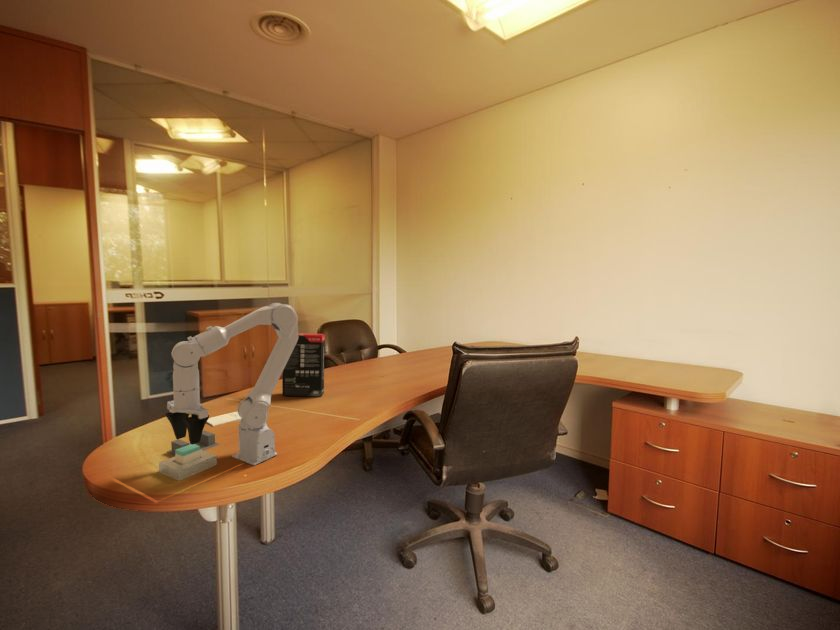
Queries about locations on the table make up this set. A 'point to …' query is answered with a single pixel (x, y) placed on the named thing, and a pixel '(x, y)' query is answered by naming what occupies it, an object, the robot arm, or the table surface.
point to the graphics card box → (305, 367)
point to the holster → (205, 443)
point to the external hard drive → (224, 419)
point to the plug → (187, 454)
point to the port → (187, 466)
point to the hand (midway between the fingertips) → (187, 440)
